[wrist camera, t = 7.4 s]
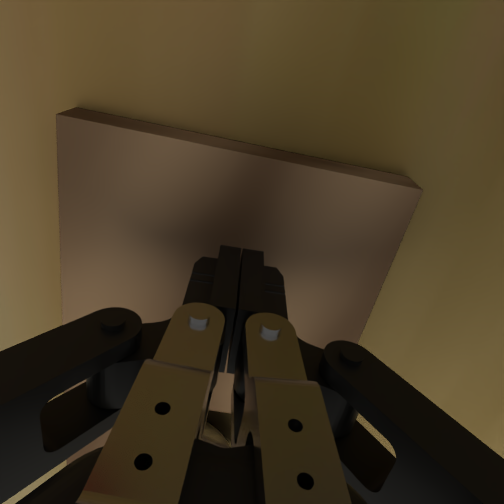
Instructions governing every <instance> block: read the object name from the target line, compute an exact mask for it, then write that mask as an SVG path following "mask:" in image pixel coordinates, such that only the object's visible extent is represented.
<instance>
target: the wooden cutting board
mask: <svg viewBox="0 0 504 504" xmlns="http://www.w3.org/2000/svg"><path fill="white" fill-rule="evenodd" d="M56 128H57V161H58V194H59V226H60V259H61V291H62V324H63V325H64V324H67V323H69V322H71V321H74V320H76V319H79V318H81V317H83V316H86V315H88V314H90V313H93V312H95V311H98V310H100V309H104V308H110V307H121V308H126V309H130V310H132V311H134V312H135V313H137V314H138V315H139V316H140V318H141V320H142V323H153V322H160V321H165V320H167V319H170V318H172V316H173V314H174V312H175V310H176V309H177V308H179V307H180V306H182V304H183V300H184V297H185V294H186V290H187V287H188V283H189V281H190V277H191V273H192V270H193V267H194V263H195V262H196V261H198V260H199V259H200V258H201V257H203V256H205V257H211V258H218V255H219V250H220V245H226V246H232V247H238V248H241V255H242V250H243V248H245V249H252V250H258V251H264V266H270V267H276V268H277V269H278V270H279V271H280V273H281V274H282V275H283V277H284V287H285V295H286V304H287V314H288V321H289V322H290V323H291V324H292V325H293V326H294V328H295V331H296V335H297V337H298V338H300V339H301V340H303V341H305V342H306V343H309V344H311V345H314V346H316V347H319V348H321V349H325V347H326V345H327V344H328V343H330V342H332V341H336V340H345V341H350V342H353V343H356V344H358V341H359V339H360V337H361V334H362V332H363V330H364V327H365V325H366V323H367V320H368V318H369V316H370V313H371V311H372V309H373V306H374V304H375V302H376V299H377V297H378V295H379V292H380V290H381V288H382V285H383V283H384V281H385V278H386V276H387V274H388V271H389V269H390V267H391V264H392V262H393V260H394V257H395V255H396V253H397V250H398V248H399V246H400V243H401V241H402V239H403V236H404V234H405V232H406V229H407V227H408V224H409V222H410V220H411V217H412V215H413V213H414V210H415V208H416V206H417V203H418V201H419V199H420V196H421V194H422V192H423V189H421V188H420V187H419V186H418V185H417V184H416V183H414V182H413V181H412V180H411V179H410V178H409V177H406V176H402V175H397V174H392V173H387V172H382V171H378V170H373V169H368V168H363V167H358V166H354V165H349V164H344V163H339V162H335V161H330V160H325V159H320V158H315V157H311V156H306V155H301V154H296V153H292V152H287V151H282V150H277V149H272V148H268V147H263V146H258V145H253V144H249V143H244V142H239V141H234V140H229V139H225V138H220V137H215V136H210V135H206V134H201V133H196V132H191V131H186V130H182V129H177V128H172V127H167V126H162V125H158V124H153V123H148V122H143V121H139V120H134V119H129V118H124V117H119V116H115V115H110V114H105V113H100V112H96V111H91V110H86V109H81V108H73V109H70V110H67V111H64V112H61V113H58V114H56ZM240 260H241V257H240ZM228 352H229V349H228ZM227 363H228V355H227V360H226V366H225V371H224V373H222V372H219V373H218V379H217V384H216V386H215V387H214V389H213V394H212V399H211V403H210V408H209V410H212V411H219V412H226V413H231V393H232V388H233V383H234V374H230V373H227ZM84 382H86V379H85V380H84V381H82V382H80V383H78V384H76V385H75V386H73V387H71V388H69V389H67V390H65V393H66V392H68V391H69V390H71V389H73V388H75V387H77V386H78V385H80V384H82V383H84ZM111 430H112V428H111V429H110V430H108V431H107V432H105V433H104V434H103V435H101V436H100V437H98V438H97V439H95V440H94V441H92V442H91V443H89V444H88V445H86V446H85V447H84V448H82V449H81V450H79V451H78V452H76V453H75V454H73V455H72V456H70V457H69V458H68V459H67V465H68V464H70V463H71V462H73V461H74V460H76V459H78V458H79V457H81V456H83V455H84V454H86V453H88V452H91V451H93V450H95V449H97V448H100V447H103V446H104V445H105V443H106V440H107V438H108V436H109V434H110V432H111Z"/></svg>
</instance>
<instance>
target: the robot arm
mask: <svg viewBox="0 0 504 504" xmlns="http://www.w3.org/2000/svg"><path fill="white" fill-rule="evenodd" d="M240 257H241V260H240ZM228 349H229V352H228ZM227 355H228V363H227V373H230V374H234V383H233V388H232V393H231V448H222V447H218V446H216V445H213V444H210V443H208V442H205V441H203V440H202V438H203V434H204V429H205V425H206V421H207V416H208V412H209V408H210V403H211V399H212V394H213V389H214V387H215V386H216V384H217V379H218V373H219V372H222V373H224V371H225V366H226V360H227ZM85 379H86V382H84V383H82V384H80V385H78V386H77V387H75V388H73V389H71V390H69V391H68V392H66V393H64V394H62V395H60V396H59V397H57V398H55V399H53V400H51V401H50V402H48V401H49V400H50V399H52V398H53V397H55V396H56V395H58V394H60V393H62V392H64V391H65V390H67V389H69V388H71V387H73V386H75V385H76V384H78V383H80V382H82V381H84V380H85ZM47 402H48V403H47ZM359 413H360V414H361V415H362V416H363V417H364V418H365V419H366V420H367V421H368V422H369V423H370V424H371V425H372V426H373V427H374V428H375V429H376V430H378V431H379V432H380V433H381V434H382V435H383V436H384V437H385V438H386V439H387V440H388V441H389V442H390V443H391V445H392V446H393V448H394V450H395V453H396V458H395V457H394V456H393V455H392V454H391V453H390V452H389V451H388V450H387V449H386V448H385V447H384V446H383V445H382V444H381V443H380V442H379V441H378V440H377V439H376V438H375V437H374V436H372V435H371V434H370V433H369V432H368V431H367V430H366V429H365V428H364V427H363V426H362V425H361V424H360V423H359V422H358V421H357V420H356V418H357V416H358V414H359ZM111 428H112V430H111V432H110V434H109V436H108V438H107V440H106V443H105V445H104V446H103V447H100V448H97V449H95V450H93V451H91V452H88V453H86V454H84V455H83V456H81V457H79V458H78V459H76V460H74V461H73V462H71V463H70V464H68V465H67V466H66V467H64V468H63V469H62V470H60V471H59V472H58V473H56V474H55V475H53V476H52V477H51V478H49V479H48V480H47V481H45V482H44V483H43V484H41V485H40V486H39V487H37V488H36V489H35V490H33V491H32V492H30V493H29V494H28V495H26V496H25V497H24V498H22V499H21V500H20V501H18V502H17V503H16V504H504V459H503V458H502V457H501V456H499V455H498V454H497V453H496V452H494V451H493V450H492V449H491V448H489V447H488V446H487V445H486V444H484V443H483V442H482V441H481V440H479V439H478V438H477V437H476V436H474V435H473V434H472V433H471V432H469V431H468V430H467V429H466V428H464V427H463V426H462V425H460V424H459V423H458V422H457V421H455V420H454V419H453V418H452V417H450V416H449V415H448V414H447V413H445V412H444V411H443V410H442V409H440V408H439V407H438V406H437V405H435V404H434V403H433V402H432V401H430V400H429V399H428V398H427V397H425V396H424V395H423V394H422V393H420V392H419V391H418V390H417V389H415V388H414V387H413V386H412V385H410V384H409V383H408V382H406V381H405V380H404V379H403V378H401V377H400V376H399V375H398V374H396V373H395V372H394V371H393V370H391V369H390V368H389V367H388V366H386V365H385V364H384V363H383V362H381V361H380V360H379V359H378V358H376V357H375V356H374V355H373V354H371V353H370V352H369V351H368V350H366V349H365V348H363V347H362V346H360V345H358V344H356V343H353V342H350V341H345V340H336V341H332V342H330V343H328V344H327V345H326V347H325V349H321V348H319V347H316V346H314V345H311V344H309V343H306V342H305V341H303V340H301V339H300V338H298V337H297V335H296V331H295V328H294V326H293V325H292V324H291V323H290V322H289V321H288V314H287V304H286V295H285V287H284V277H283V275H282V274H281V273H280V271H279V270H278V269H277V268H276V267H270V266H264V251H258V250H252V249H245V248H243V250H242V255H241V248H238V247H232V246H226V245H220V250H219V255H218V258H211V257H205V256H203V257H201V258H200V259H199V260H198V261H196V262H195V263H194V267H193V270H192V273H191V277H190V281H189V283H188V287H187V290H186V294H185V297H184V300H183V304H182V306H180V307H179V308H177V309H176V310H175V312H174V314H173V316H172V318H170V319H167V320H165V321H160V322H153V323H142V320H141V318H140V316H139V315H138V314H137V313H135V312H134V311H132V310H130V309H126V308H121V307H110V308H104V309H100V310H98V311H95V312H93V313H90V314H88V315H86V316H83V317H81V318H79V319H76V320H74V321H71V322H69V323H67V324H64V325H62V326H60V327H57V328H55V329H52V330H50V331H48V332H45V333H43V334H41V335H38V336H36V337H33V338H31V339H29V340H26V341H24V342H22V343H19V344H17V345H14V346H12V347H10V348H7V349H5V350H3V351H0V504H2V503H3V502H5V501H6V500H8V499H9V498H11V497H12V496H14V495H15V494H16V493H18V492H19V491H21V490H22V489H24V488H25V487H27V486H28V485H30V484H31V483H32V482H34V481H35V480H37V479H38V478H40V477H41V476H43V475H44V474H46V473H47V472H49V471H50V470H51V469H53V468H54V467H56V466H57V465H59V464H60V463H62V462H63V461H65V460H66V459H68V458H69V457H70V456H72V455H73V454H75V453H76V452H78V451H79V450H81V449H82V448H84V447H85V446H86V445H88V444H89V443H91V442H92V441H94V440H95V439H97V438H98V437H100V436H101V435H103V434H104V433H105V432H107V431H108V430H110V429H111Z"/></svg>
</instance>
